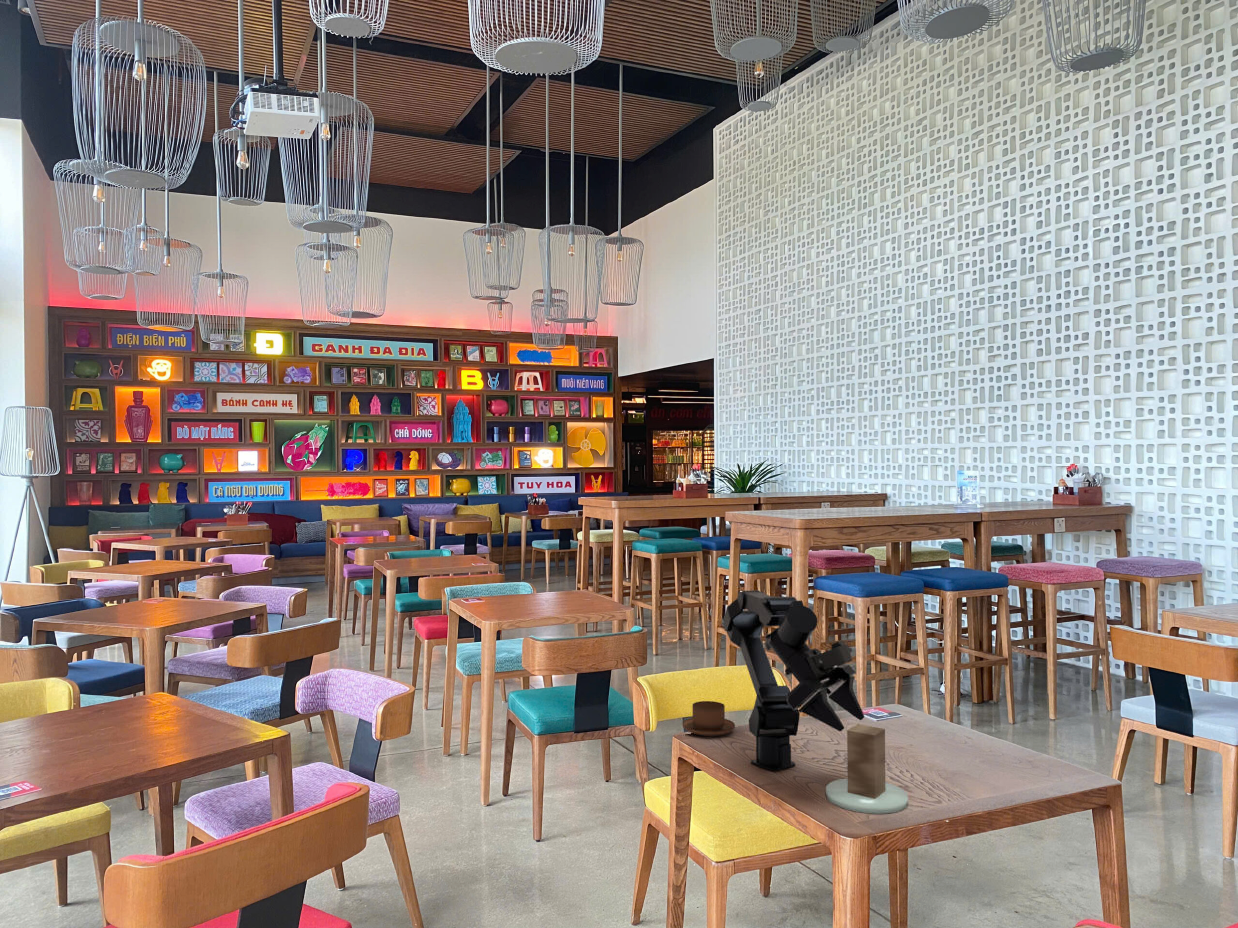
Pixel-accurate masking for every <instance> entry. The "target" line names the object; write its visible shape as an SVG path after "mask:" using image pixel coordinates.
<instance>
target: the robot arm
mask: <svg viewBox="0 0 1238 928" xmlns="http://www.w3.org/2000/svg"><path fill="white" fill-rule="evenodd" d="M722 623H723V629H724V631H725V632H726V634H727V636H728V638H729V640H730V642H732V643H733V644H734V645H736V646H737V647H739V649H740V650H741V652H742V653H741V654H742V657H743V659H744V662H745V666H746V668H747V671H748V673H749V678H750V679H751V680H750V681H751V683H752V685H753V688H754V692H755V695H756V698H755V701H754V706H753V709H752V712H751V714H750V716H749V719H748V730H749V732H750V734H751V735H753V736H754V737H755V745H756V746H755V749H756V751H755V752H756V753H755V754H756V755H755V757H756V758H755V759H750V764H752V765H755V766H758V767H760V768H763V769H765V770H768V771H771V772H777V771H780V770H784V769H787V768H791V767H794V766H796V762H795V761H792V744H791V743H790V742H791V741H790V740H791V739H790V738H791V736H793V737H797V735H798V730H799V723H800V716H801V715H800V714H801V713H803V714H805V715H807V716H809V717H812V718H814V719H816V720H818V721H820V722H822V723H823V724H825V725H827V726H828V727H830V728H832V729H835V730H836V731H838V732H842V731H843V730H844V729H845V726H844V724H843V723H842V721H841V719H840V718H839V716H838V714H837V713H836V711H835V710H834V709H833V707H832V706H831V704H830V702H829V703H828V701H827V694H828V698H829V699H830V700H831V701H833V702H834V703H836V705H838V706H839V707H841V708H842V709H843V710H845V711H846V712H848V713H849V714H850V715H851V716H853V717H854V718H856V719H857V720H859V721H862V720H864V718H865V715H864V712H863V710H862V707H861V705H860V703H859V701H858V697H857V696H856V694H855V691H854V681H855V679H856V677H855V674H856V671H855V670H854V669H853V668H852V666H851V665H850V664H847V663H849V662H853V658H852V656H851V655H852V654H851V653H852V652H853V650H852V647H849V645H848V643H845V642H844V641H843V640H839V641H836V642H834V643H832V644H831V647H830V648H831V649H829V650H827V651H824V652H821V651H820V650H819V648H812V649H811V647H810V646H809V645H808V644H807V642H808V640H809V638H810V637H811V635H812V634H813V633H814V631H815V630H816V628H817V626H818V623H819V622H818V616H817V615H816V613H815V612H814V611H813V610H812V609H811V608H810V607H808V606H805V605H804V602H803V600H797V598H796V597H795V596H771V595H768V594H766V593H764V592H763V591H760V590H742V591H739V592H738V594H737V597H736V599H735V600H734V601H732V602H730V604H729V605H728V606H726V609H725V612H724V616H723V621H722ZM764 627H768V628H769V627H776V628H775V629H774V630H773V631H772V632H770V633H768V634H767V635H765V647H766V648H765V647H764V645H763V642H762V639H761V637H762V633H763V629H764ZM765 649H766V650H767V651H770V650H773V652H774V653H775V654H776V655H777V657H778V658H779V659H780V661H782V663H783V664H784V665H785V667H786V669H785V670H784V672H785V674H786V675H787V676H789V675H793V676H794V679H795V680H797V682H798V684H797V685H795V687H793V689H792V690H790V688H789V687H788V685H779V684H778V681H777V679H776V676H775V673H774V671H773V668H772V666H771V663H770V661H769V657H768V655H767V653H766V650H765ZM834 666H837V667H834Z"/></svg>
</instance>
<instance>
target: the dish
mask: <svg viewBox="0 0 1238 928" xmlns="http://www.w3.org/2000/svg"><path fill="white" fill-rule="evenodd" d="M885 790H886V791H885V792H883V793H882V794H881V795H880V796H878V797H877V798H876V799H873V798H869V797H865V796H860V795H856V794H852V793H848V777H847V778H841V779H835V780H832V781H831V782H829V783H828V784H827V785H826V787H825V796H826V799H827V800H828V802H830V803H831V804H833V805H835V806H837V807H839V808H842V809H845V810H847V811H852V812H857V813H862V814H863V813H864V814H872V815H874V814H875V815H877V814H878V815H885V814H894V813H898V812H901V811H904V810H905V809H906V808H907V807H908V804H909V796H908V793H907V792H906V791H905V790H904V789H903V788H901V787H899V786H897V785H895V784H892V783H890V782H886V781H885Z"/></svg>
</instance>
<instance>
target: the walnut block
mask: <svg viewBox="0 0 1238 928" xmlns="http://www.w3.org/2000/svg"><path fill="white" fill-rule="evenodd" d="M846 737H847V738H846V741H847V742H846V743H847V744H846V747H847V750H846V751H847V752H846V754H847V758H846V759H847V761H846V762H847V765H846V766H847V767H846V768H847V769H846V770H847V778H848V793H852V794H856V795H860V796H865V797H869V798H873V799H876V798H877V797H878V796H880V795H881V794H882V793H883V792H885V791H886V790H885V782H886V729H885V728H882V727H876V726H871V725H865V724H860V723H858V724H855V725H854V726H852V727H851V728H848V729H847V731H846Z"/></svg>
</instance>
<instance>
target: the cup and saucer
mask: <svg viewBox="0 0 1238 928" xmlns="http://www.w3.org/2000/svg"><path fill="white" fill-rule="evenodd" d="M725 707H726V706H725V704H724V703H722V702H718V701H713V700H703V701H702V700H701V701H696V702H693V703H692V717H690V718H686V719H685V720H683V721H682V724H681V725H682V727H683V729H684V730H685V731H687V732H689V733H692V734H694V735H698V736H704V737H705V736H707V737H709V736H710V737H715V736H723V735H726V734H728V733H731V732H732V731H733V730H734V729H736V728H735V727H736V724H735V722H734V721H732V720H730V719H727V718H725V717H726V716H725V714H726V712H725Z"/></svg>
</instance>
